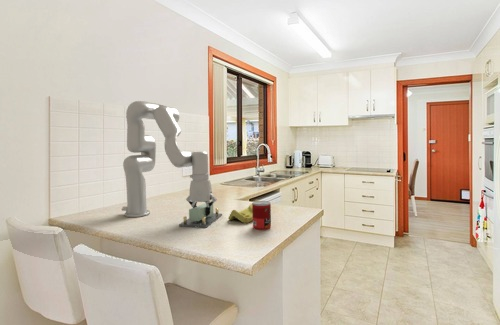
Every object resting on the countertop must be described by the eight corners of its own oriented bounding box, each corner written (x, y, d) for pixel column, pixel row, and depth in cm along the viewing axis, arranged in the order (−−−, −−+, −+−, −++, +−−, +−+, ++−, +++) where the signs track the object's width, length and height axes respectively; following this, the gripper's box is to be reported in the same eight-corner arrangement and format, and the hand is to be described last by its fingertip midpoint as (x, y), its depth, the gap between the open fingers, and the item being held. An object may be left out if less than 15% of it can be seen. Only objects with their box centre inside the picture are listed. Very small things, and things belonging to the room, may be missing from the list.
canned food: (268, 230, 123) (267, 204, 122) (250, 229, 126) (249, 203, 125) (273, 225, 130) (272, 201, 130) (256, 224, 133) (255, 200, 132)
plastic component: (247, 219, 134) (231, 207, 138) (242, 232, 136) (226, 220, 141) (269, 207, 150) (254, 197, 154) (265, 219, 152) (250, 209, 157)
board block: (189, 220, 136) (188, 209, 136) (204, 213, 149) (204, 203, 149) (198, 221, 134) (198, 210, 134) (213, 214, 147) (213, 204, 147)
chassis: (179, 226, 132) (178, 217, 132) (198, 214, 154) (198, 207, 154) (206, 227, 129) (206, 218, 129) (222, 215, 151) (221, 207, 151)
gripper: (180, 178, 139) (181, 216, 140) (215, 178, 135) (216, 217, 136) (187, 176, 146) (188, 212, 147) (220, 176, 142) (221, 213, 143)
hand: (201, 214), depth 141 cm, fingers closed on board block, 5 cm apart
